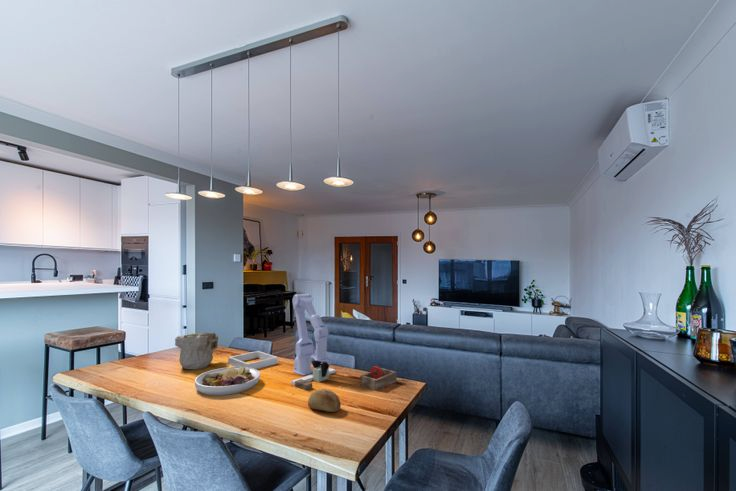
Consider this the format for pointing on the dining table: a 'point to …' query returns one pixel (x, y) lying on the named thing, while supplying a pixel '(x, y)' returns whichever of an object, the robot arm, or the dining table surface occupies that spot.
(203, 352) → the ceramic vessel
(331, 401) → the bread roll
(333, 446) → the dining table surface
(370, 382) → the wooden box
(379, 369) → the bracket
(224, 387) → the bowl
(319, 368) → the cabinet block
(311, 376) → the white flat plank
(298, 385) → the cleat
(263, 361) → the frame
